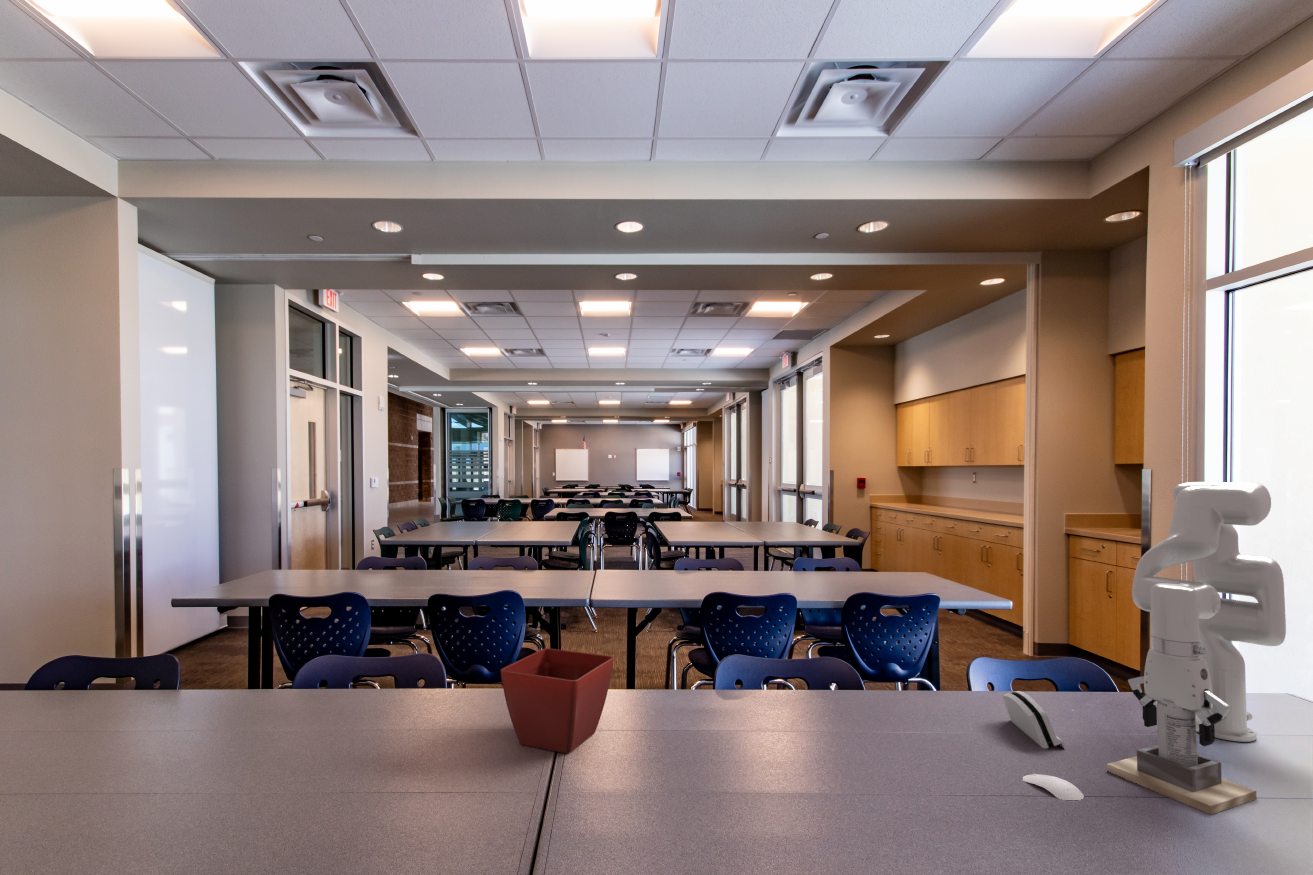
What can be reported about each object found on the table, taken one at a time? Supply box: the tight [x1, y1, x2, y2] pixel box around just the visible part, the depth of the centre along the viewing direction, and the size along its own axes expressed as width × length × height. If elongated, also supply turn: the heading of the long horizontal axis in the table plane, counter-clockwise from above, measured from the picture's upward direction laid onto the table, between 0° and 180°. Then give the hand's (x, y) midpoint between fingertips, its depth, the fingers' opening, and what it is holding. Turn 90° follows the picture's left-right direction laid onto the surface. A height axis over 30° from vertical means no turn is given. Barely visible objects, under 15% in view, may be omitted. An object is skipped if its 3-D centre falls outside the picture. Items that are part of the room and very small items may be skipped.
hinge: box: [1002, 690, 1067, 750], centre depth 152 cm, size 17×5×10 cm, turn 174°
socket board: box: [1106, 744, 1257, 816], centre depth 127 cm, size 15×18×6 cm
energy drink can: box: [1156, 699, 1198, 767], centre depth 128 cm, size 6×6×15 cm
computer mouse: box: [1022, 773, 1085, 801], centre depth 126 cm, size 7×12×2 cm, turn 21°
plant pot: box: [500, 648, 614, 754], centre depth 145 cm, size 19×19×17 cm
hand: (1177, 734), depth 128 cm, fingers open, 9 cm apart
